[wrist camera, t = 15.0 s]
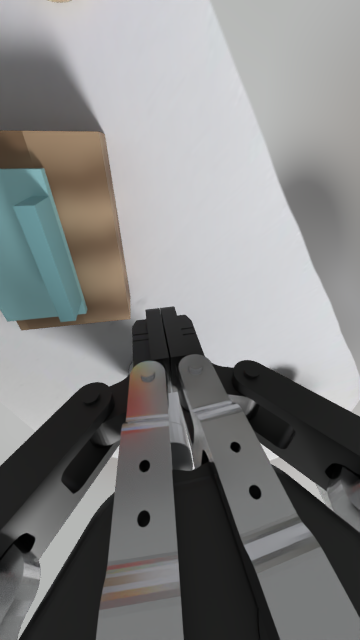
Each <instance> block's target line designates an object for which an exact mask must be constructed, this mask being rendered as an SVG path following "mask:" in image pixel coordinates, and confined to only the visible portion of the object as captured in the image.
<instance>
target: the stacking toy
mask: <svg viewBox="0 0 360 640" xmlns="http://www.w3.org/2000/svg"><path fill="white" fill-rule="evenodd" d="M49 1H52V2H58V3H61V2H69V1H72V0H49Z"/></svg>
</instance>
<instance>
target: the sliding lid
mask: <svg viewBox="0 0 360 640" xmlns="http://www.w3.org/2000/svg"><path fill="white" fill-rule="evenodd" d="M0 310H1V312H2V313H3V315H4V317H5V318H6V320H7V321H17V320H27V319H37V318H48V317H59V319H60V322H66V321H76V318H77V315H78V314H86V313H87V306H86V303H85V300H84V296H83V293H82V290H81V287H80V283H79V280H78V277H77V274H76V270H75V267H74V264H73V261H72V257H71V254H70V251H69V248H68V244H67V241H66V238H65V235H64V231H63V228H62V225H61V222H60V218H59V215H58V212H57V209H56V205H55V202H54V199H53V196H52V192H51V189H50V186H49V183H48V179H47V176H46V173H45V170H44V168H18V169H0Z"/></svg>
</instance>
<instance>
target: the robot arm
mask: <svg viewBox="0 0 360 640" xmlns="http://www.w3.org/2000/svg"><path fill="white" fill-rule="evenodd" d="M160 313H161V314H160ZM132 335H133V336H132V337H133V362H132V363H131V365H130V367H129V376H128V377H127V378H125V379H124V380H123V381H121V382H119V383H117V384H114V385H112V386H110V387H108V385H106V384H104V383H100V382H95V383H90V384H87V385H85V386H83V387H82V388H80V389H79V390H78V391H77V392H76V393H75V394H74V395H73V396H72V397H71V398H70V399H69V400H68V401H67V402H66V403H65V404H64V405H63V406H62V407H61V408H60V409H58V410H57V411H56V412H55V413H54V414H53V415H52V416H51V417H50V418H49V419H48V420H47V421H46V422H45V423H44V424H43V425H42V426H41V427H40V428H39V429H38V430H37V431H36V432H35V433H34V434H33V435H32V436H31V437H30V438H29V439H28V440H27V441H26V442H25V443H24V444H23V445H21V446H20V448H19V449H17V450H16V451H15V452H14V453H13V454H12V455H11V456H10V457H9V458H8V459H7V460H6V461H5V462H4V463H3V464H2V465H1V466H0V640H17V638H18V634H19V631H20V628H21V624H22V622H23V620H24V618H25V615H26V613H27V612H28V610H29V608H30V606H31V604H32V602H33V600H34V598H35V596H36V593H37V590H38V587H39V581H40V575H41V571H40V564H39V561H38V560H39V559H40V557H41V556H42V554H43V553H44V552H45V550H46V549H47V547H48V546H49V544H50V543H51V541H52V540H53V539H54V537H55V536H56V534H57V533H58V532H59V530H60V529H61V527H62V526H63V524H64V523H65V522H66V520H67V519H68V517H69V516H70V514H71V513H72V512H73V510H74V509H75V507H76V506H77V504H78V503H79V502H80V500H81V499H82V497H83V496H84V494H85V493H86V492H87V490H88V489H89V487H90V486H91V484H92V483H93V482H94V480H95V479H96V477H97V476H98V474H99V473H100V471H101V470H102V469H103V467H104V466H105V464H106V463H107V462H108V460H109V459H110V457H111V456H112V455H113V453H114V452H115V450H116V449H117V447H118V446H119V445H120V446H119V456H118V466H117V476H116V486H115V492H114V493H113V494H112V495H111V496H110V497H109V498H108V499H107V500H106V501H105V502H104V503H103V504H102V505H101V506H100V508H99V509H98V510H97V512H96V513H95V514H94V516H93V517H92V519H91V521H90V522H89V524H88V525H87V527H86V529H85V530H84V532H83V534H82V535H81V537H80V539H79V540H78V542H77V544H76V546H75V547H74V549H73V550H72V552H71V554H70V555H69V557H68V559H67V560H66V562H65V564H64V566H63V567H62V569H61V570H60V572H59V574H58V575H57V577H56V579H55V580H54V582H53V584H52V585H51V587H50V589H49V590H48V592H47V594H46V595H45V597H44V599H43V600H42V602H41V603H40V605H39V607H38V608H37V610H36V612H35V613H34V615H33V617H32V619H31V620H30V622H29V624H28V625H27V627H26V629H25V630H24V632H23V633H22V635H21V637H20V638H19V640H360V417H359V416H357V415H356V414H354V413H352V412H350V411H348V410H346V409H344V408H342V407H341V406H339V405H337V404H335V403H333V402H331V401H329V400H327V399H325V398H324V397H322V396H320V395H318V394H316V393H314V392H312V391H310V390H309V389H307V388H305V387H303V386H301V385H299V384H297V383H295V382H293V381H292V380H290V379H288V378H286V377H284V376H282V375H280V374H278V373H277V372H275V371H273V370H271V369H269V368H267V367H265V366H263V365H261V364H260V363H257V362H255V361H251V360H244V361H240V362H238V363H237V364H236V365H235V366H234V368H230V367H222V366H218V365H215V364H213V363H211V361H210V360H209V359H208V358H206V357H205V356H204V353H203V351H202V348H201V345H200V342H199V340H198V337H197V334H196V332H195V329H194V326H193V324H192V321H191V320H190V319H189V318H188V317H187V316H186V315H179V316H177V314H176V311H175V307H165V308H160V309H159V308H157V309H148V310H146V319H145V320H137V321H136V322H135V324H134V325H133V327H132ZM185 428H186V429H185ZM186 432H187V433H186ZM187 435H188V438H187ZM188 439H189V442H190V446H191V450H192V455H193V462H194V466H195V469H194V470H192V469H193V463H192V458H191V453H190V448H189V443H188ZM260 443H261V444H262V445H264V446H265V447H267V448H268V449H269V450H271V451H272V452H273V453H275V454H276V455H277V456H279V457H280V458H282V459H283V460H284V461H286V462H287V463H288V464H290V465H291V466H293V467H294V468H295V469H297V470H298V471H299V472H301V473H302V474H304V475H305V476H306V477H308V478H309V479H310V480H312V481H313V482H315V483H316V484H317V485H319V486H320V487H321V488H323V489H324V490H325V491H327V493H328V497H329V500H330V502H331V505H332V509H333V510H334V511H332V510H331V509H330V508H329V507H327V506H326V505H325V504H324V503H322V502H321V501H320V500H319V499H317V498H316V497H315V496H314V495H312V494H311V493H310V492H309V491H307V490H306V489H305V488H304V487H302V486H301V485H300V484H299V483H297V482H296V481H295V480H294V479H292V478H291V477H290V476H289V475H287V474H286V473H285V472H283V471H282V470H280V469H279V468H277V467H275V466H274V465H272V464H270V461H269V460H268V458H267V456H266V454H265V452H264V450H263V448H262V446H261V444H260Z"/></svg>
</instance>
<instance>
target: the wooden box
mask: <svg viewBox="0 0 360 640" xmlns="http://www.w3.org/2000/svg"><path fill="white" fill-rule="evenodd" d="M18 168H44V170H45V173H46V176H47V179H48V183H49V186H50V189H51V192H52V196H53V199H54V202H55V205H56V209H57V212H58V215H59V218H60V222H61V225H62V228H63V231H64V235H65V238H66V241H67V244H68V248H69V251H70V254H71V257H72V261H73V264H74V267H75V270H76V274H77V277H78V280H79V283H80V287H81V290H82V293H83V296H84V300H85V303H86V306H87V313H86V314H78V315H77V318H76V321H66V322H60V319H59V317H48V318H37V319H27V320H17V321H16V322H17V323H18V325H19V327H20V329H21V330H29V329H39V328H49V327H58V326H68V325H77V324H87V323H96V322H106V321H116V320H125V319H130V292H129V285H128V279H127V273H126V266H125V260H124V254H123V247H122V241H121V235H120V228H119V222H118V215H117V209H116V203H115V196H114V190H113V184H112V177H111V171H110V165H109V158H108V152H107V146H106V139H105V134H103V133H101V132H92V131H0V169H18Z"/></svg>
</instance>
